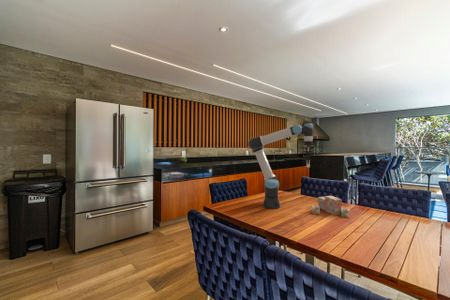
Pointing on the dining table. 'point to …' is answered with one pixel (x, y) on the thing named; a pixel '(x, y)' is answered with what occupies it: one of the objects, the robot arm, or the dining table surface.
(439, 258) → the dining table surface
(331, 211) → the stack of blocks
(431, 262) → the dining table surface
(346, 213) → the marked cube right
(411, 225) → the dining table surface
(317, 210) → the marked cube left
